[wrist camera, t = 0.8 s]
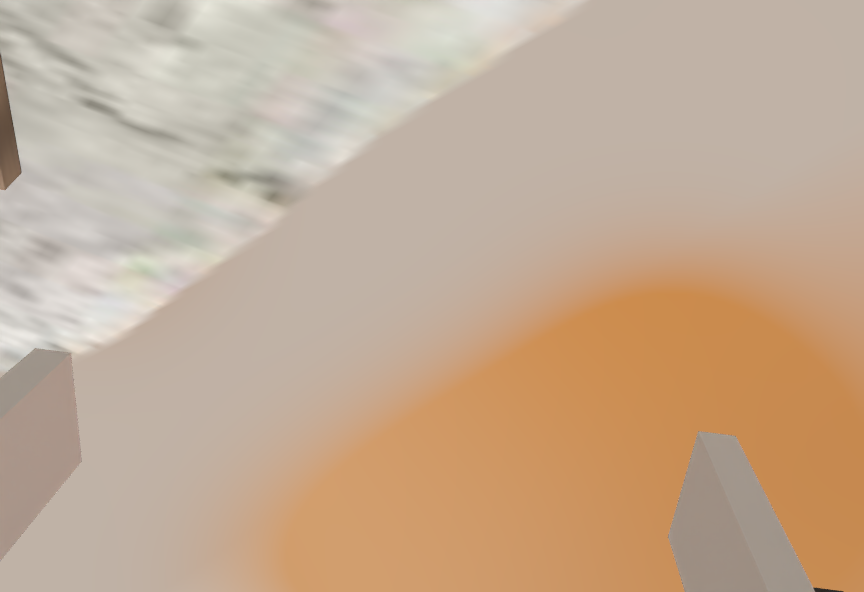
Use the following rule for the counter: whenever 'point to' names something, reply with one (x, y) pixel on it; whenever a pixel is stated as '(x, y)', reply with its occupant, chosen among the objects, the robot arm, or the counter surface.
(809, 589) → the robot arm
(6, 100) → the base
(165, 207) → the counter surface
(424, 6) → the counter surface
